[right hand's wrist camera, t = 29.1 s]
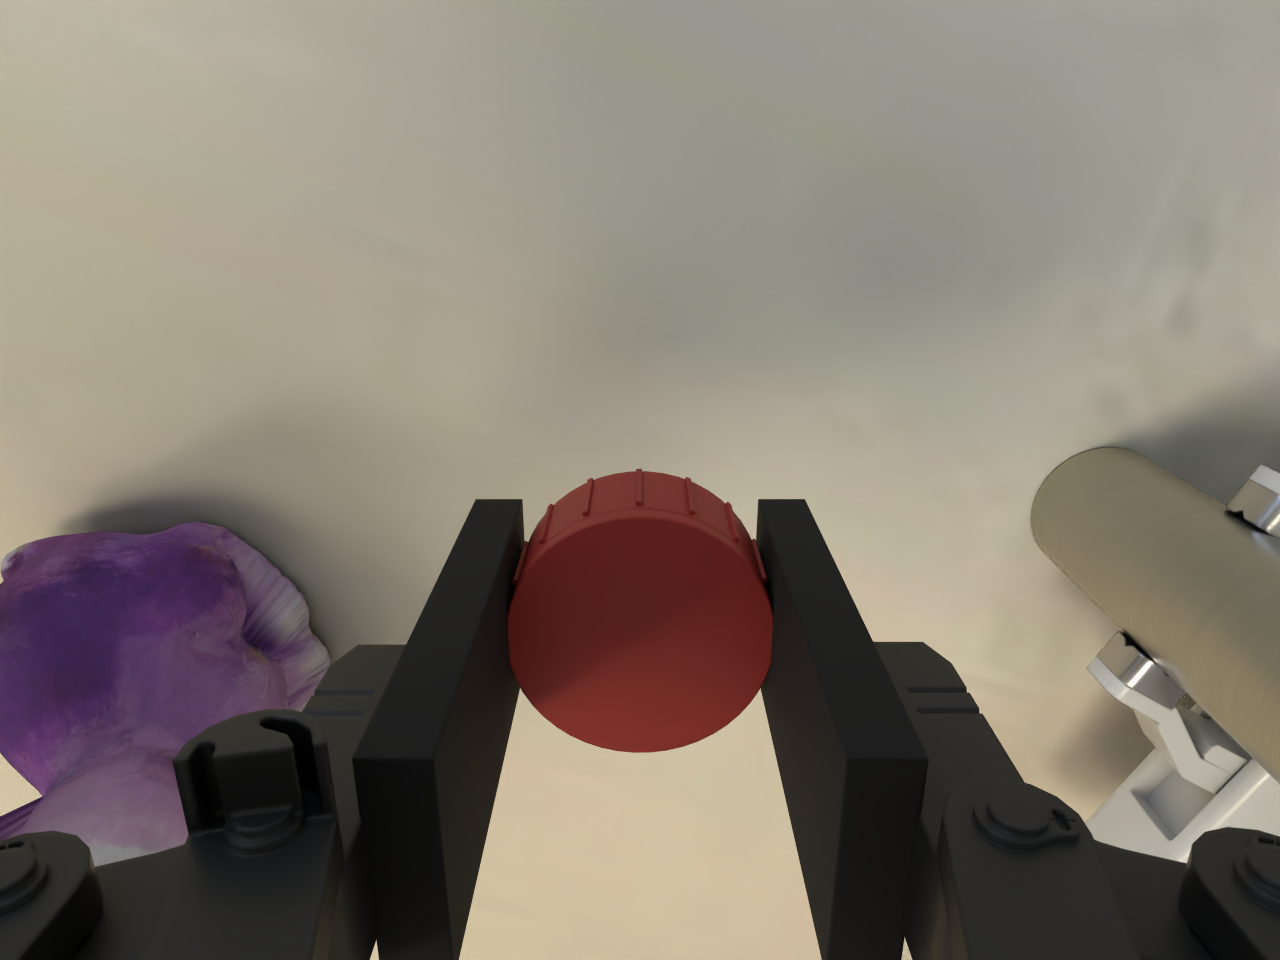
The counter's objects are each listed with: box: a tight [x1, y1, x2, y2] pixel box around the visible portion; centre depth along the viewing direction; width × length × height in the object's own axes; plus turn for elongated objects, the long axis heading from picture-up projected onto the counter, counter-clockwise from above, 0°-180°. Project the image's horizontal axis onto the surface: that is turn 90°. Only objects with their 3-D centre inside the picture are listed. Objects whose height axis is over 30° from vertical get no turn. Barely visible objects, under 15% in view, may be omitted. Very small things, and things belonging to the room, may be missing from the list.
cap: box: [507, 469, 773, 752], centre depth 14 cm, size 4×4×2 cm
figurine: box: [0, 522, 330, 867], centre depth 24 cm, size 9×10×15 cm
